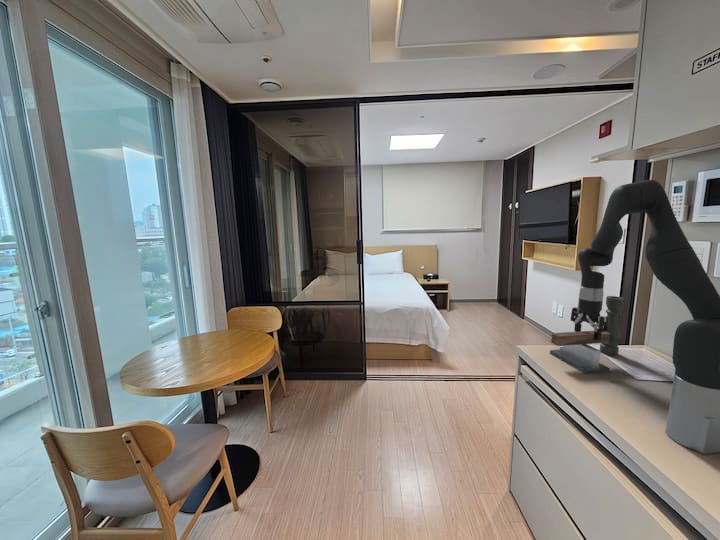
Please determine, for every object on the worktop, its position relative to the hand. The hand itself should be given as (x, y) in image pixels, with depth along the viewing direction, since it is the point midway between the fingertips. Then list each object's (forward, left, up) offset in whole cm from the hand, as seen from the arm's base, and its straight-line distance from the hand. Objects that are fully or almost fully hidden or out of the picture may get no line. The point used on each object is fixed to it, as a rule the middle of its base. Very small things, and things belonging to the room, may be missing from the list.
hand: (586, 336), depth 119 cm
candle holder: (+5, -17, -11) cm, 21 cm away
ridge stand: (0, +3, -11) cm, 11 cm away
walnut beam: (0, +3, -2) cm, 4 cm away
